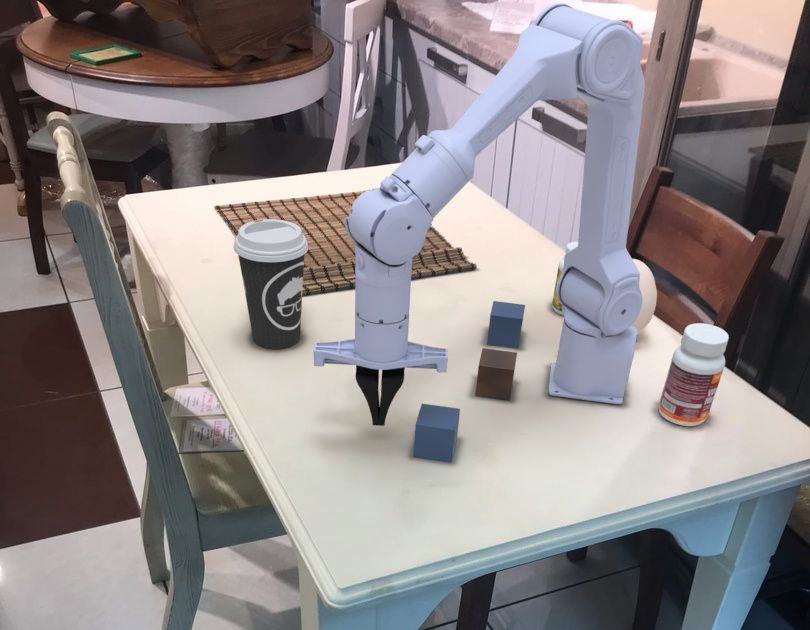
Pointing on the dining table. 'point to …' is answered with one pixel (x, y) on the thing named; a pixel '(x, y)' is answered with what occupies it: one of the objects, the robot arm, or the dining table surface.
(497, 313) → the blue block far
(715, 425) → the dining table surface
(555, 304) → the supplement bottle
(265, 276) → the coffee cup
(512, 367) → the walnut block
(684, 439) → the dining table surface
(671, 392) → the pill bottle
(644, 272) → the egg
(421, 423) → the blue block near
